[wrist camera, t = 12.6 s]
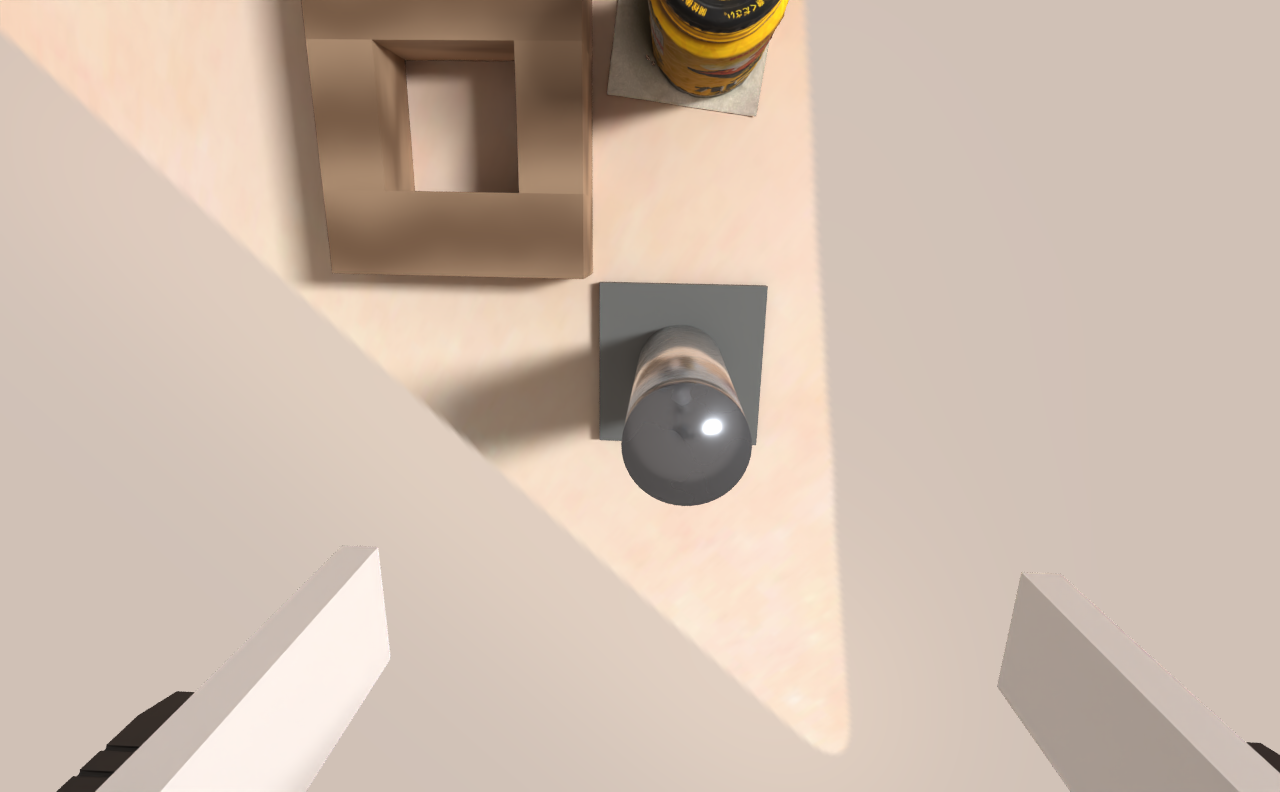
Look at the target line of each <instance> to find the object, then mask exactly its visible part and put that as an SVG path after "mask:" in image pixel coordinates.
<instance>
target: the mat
mask: <svg viewBox="0 0 1280 792" xmlns="http://www.w3.org/2000/svg"><path fill="white" fill-rule="evenodd" d="M767 288H768V286H763V285H719V284H676V283H632V282H600V440H615V441H622V435H623V430H624V425H625V421H626V416H627V411H628V407H629V402H630V397H631V393H632V388H633V383H634V379H635V374H636V369H637V365H638V360H639V356H640V353H641V350H642V348H643V346H644V344H645V343H646V341H647V340H648V339H649V338H650V337H651V336H652V335H653V334H655V333H656V332H658V331H659V330H661V329H663V328H665V327H669V326H673V325H688V326H693V327H695V328H698V329H700V330H702V331H703V332H705V333H706V334H708V335H709V336H710V337H711V338H712V339H713V341H714V342H715V343H716V345H717V347H718V349H719V351H720V353H721V356H722V358H723V361H724V364H725V366H726V369H727V371H728V374H729V376H730V379H731V382H732V384H733V387H734V389H735V392H736V395H737V397H738V400H739V402H740V405H741V407H742V410H743V413H744V415H745V418H746V420H747V423H748V426H749V429H750V433H751V440H752V445H756V438H757V425H758V411H759V397H760V384H761V370H762V356H763V343H764V329H765V316H766V302H767Z"/></svg>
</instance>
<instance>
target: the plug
mask: <svg viewBox="0 0 1280 792" xmlns="http://www.w3.org/2000/svg"><path fill="white" fill-rule="evenodd" d="M621 445H622V455H623V460H624V463H625V466H626V468H627V470H628V472H629V474H630V476H631V477H632V479H633V480H634V482H635V483H636V484H637V485H638V486H639V487H640V488H641V489H642V490H643V491H645V492H646V493H647V494H649V495H650V496H652V497H654V498H656V499H658V500H660V501H662V502H665V503H669V504H673V505H681V506H693V505H700V504H704V503H708V502H710V501H713V500H715V499H717V498H719V497H721V496H723V495H724V494H726V493H727V492H728V491H730V490H731V489H732V488H733V487H734V486H735V485H736V484H737V483H738V481H739V480H740V479H741V477H742V476H743V474H744V472H745V471H746V468H747V466H748V464H749V460H750V457H751V450H752V440H751V433H750V429H749V426H748V423H747V420H746V418H745V415H744V413H743V410H742V407H741V405H740V402H739V400H738V397H737V395H736V392H735V389H734V387H733V384H732V382H731V379H730V376H729V374H728V371H727V369H726V366H725V364H724V361H723V358H722V356H721V353H720V351H719V349H718V347H717V345H716V343H715V342H714V341H713V339H712V338H711V337H710V336H709V335H708V334H706V333H705V332H703V331H702V330H700V329H698V328H695V327H693V326H688V325H673V326H669V327H665V328H663V329H661V330H659V331H658V332H656V333H655V334H653V335H652V336H651V337H650V338H649V339H648V340H647V341H646V343H645V344H644V346H643V348H642V350H641V353H640V356H639V360H638V365H637V369H636V374H635V379H634V383H633V388H632V393H631V397H630V402H629V407H628V411H627V416H626V421H625V425H624V430H623V435H622V444H621Z"/></svg>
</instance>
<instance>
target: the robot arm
mask: <svg viewBox="0 0 1280 792" xmlns="http://www.w3.org/2000/svg"><path fill="white" fill-rule="evenodd" d="M390 658H391V657H390V648H389V639H388V630H387V621H386V613H385V604H384V595H383V586H382V578H381V568H380V560H379V551H378V547H367V546H341V547H340V548H339V549H338V550H337V551H336V552H335V553H334V554H333V555H332V556H331V557H330V558H329V559H328V560H327V561H326V562H325V563H324V564H323V565H322V566H321V567H320V568H319V569H318V570H317V571H316V572H315V573H314V574H313V575H312V576H311V577H310V578H309V579H308V580H307V581H306V582H305V583H304V584H303V585H302V586H301V587H300V588H299V589H298V590H297V591H296V592H295V593H294V594H293V595H292V596H291V597H290V598H289V599H288V600H287V601H286V602H285V603H284V604H283V605H282V606H281V607H280V608H279V609H278V610H277V611H276V612H275V613H274V614H273V615H272V616H271V617H270V618H269V619H268V620H267V621H266V622H265V623H264V624H263V625H262V626H261V627H260V628H259V629H258V630H257V631H256V632H255V633H254V634H253V635H252V636H251V637H250V638H249V639H248V640H247V641H246V642H245V643H244V644H243V645H242V646H241V647H240V648H239V649H238V650H237V651H236V652H235V653H234V654H233V655H232V656H231V657H230V658H229V659H228V660H227V661H226V662H225V663H224V664H223V665H222V666H221V667H220V668H219V669H218V670H217V671H216V672H215V673H214V674H213V675H212V676H211V677H210V678H209V679H208V680H207V681H206V682H205V683H204V684H203V685H202V686H201V687H200V688H199V689H198V690H197V691H196V692H179V691H178V692H175V693H174V694H172V695H170V696H169V697H167V698H166V699H164V700H162V701H161V702H159V703H157V704H156V705H154V706H153V707H151V708H150V709H148V710H146V711H145V712H143V713H141V714H140V715H138V716H137V717H136V718H135V719H134V720H133V721H132V722H131V723H130V724H128V725H127V726H126V727H125V728H124V729H123V730H122V731H121V732H120V733H119V734H118V735H117V736H116V737H115V738H113V739H112V740H111V741H110V742H109V743H108V744H107V747H106V749H105V750H104V751H100V752H98V753H97V754H96V755H95V756H94V757H93V758H92V759H91V760H90V761H89V762H88V763H87V764H86V765H85V766H84V767H82V769H80V773H79V775H78V776H76V777H75V776H73V777H72V778H71V779H70V780H68V782H66V783H65V784H64V785H63V786H62V787H61V788H60V789H59V790H58V791H57V792H306V790H307V789H308V787H309V786H310V784H311V783H312V781H313V780H314V778H315V776H316V775H317V773H318V772H319V770H320V769H321V767H322V765H323V764H324V762H325V761H326V759H327V758H328V756H329V754H330V753H331V751H332V750H333V748H334V746H335V745H336V743H337V742H338V740H339V739H340V737H341V735H342V734H343V732H344V731H345V729H346V728H347V726H348V725H349V723H350V721H351V720H352V718H353V717H354V715H355V714H356V712H357V710H358V709H359V707H360V706H361V704H362V702H363V701H364V699H365V698H366V696H367V695H368V693H369V691H370V690H371V688H372V686H373V685H374V684H375V682H376V681H377V679H378V677H379V676H380V674H381V673H382V671H383V669H384V668H385V666H386V665H387V663H388V661H389V660H390ZM997 687H998V688H999V690H1000V691H1001V693H1002V694H1003V696H1004V697H1005V699H1006V700H1007V701H1008V703H1009V704H1010V706H1011V707H1012V709H1013V710H1014V711H1015V713H1016V714H1017V716H1018V717H1019V719H1020V720H1021V721H1022V723H1023V724H1024V726H1025V727H1026V729H1027V730H1028V731H1029V733H1030V734H1031V736H1032V737H1033V739H1034V740H1035V741H1036V743H1037V744H1038V746H1039V747H1040V749H1041V750H1042V751H1043V753H1044V754H1045V756H1046V757H1047V759H1048V760H1049V761H1050V763H1051V764H1052V766H1053V767H1054V769H1055V770H1056V772H1057V773H1058V774H1059V776H1060V777H1061V779H1062V780H1063V782H1064V783H1065V784H1066V786H1067V787H1068V789H1069V790H1070V792H1280V755H1278V754H1277V753H1276V752H1274V751H1272V750H1271V749H1269V748H1267V747H1266V746H1264V745H1263V744H1261V743H1250V742H1245V741H1244V740H1243V739H1242V738H1241V737H1240V736H1238V735H1237V734H1236V733H1235V732H1234V731H1233V730H1232V729H1231V728H1230V727H1228V726H1227V725H1226V724H1225V723H1224V722H1223V721H1222V720H1221V719H1220V718H1219V717H1217V716H1216V715H1215V714H1214V713H1213V712H1212V711H1211V710H1210V709H1209V708H1207V706H1205V705H1204V704H1203V703H1202V702H1201V701H1200V700H1199V699H1198V698H1197V697H1196V696H1194V695H1193V694H1192V693H1191V692H1190V691H1189V690H1188V689H1187V688H1186V687H1185V686H1184V685H1182V684H1181V683H1180V682H1179V681H1178V680H1177V679H1176V678H1175V677H1174V676H1172V675H1171V674H1170V673H1169V672H1168V671H1167V670H1166V669H1165V668H1164V667H1163V666H1162V665H1160V664H1159V663H1158V662H1157V661H1156V660H1155V659H1154V658H1153V657H1152V656H1151V655H1149V654H1148V653H1147V652H1146V651H1145V650H1144V649H1143V648H1142V647H1141V646H1140V645H1138V644H1137V643H1136V642H1135V641H1134V640H1133V639H1132V638H1131V637H1130V636H1128V635H1127V634H1126V633H1125V632H1124V631H1123V630H1122V629H1121V628H1120V627H1119V626H1118V625H1116V624H1115V623H1114V622H1113V621H1112V620H1111V619H1110V618H1109V617H1108V616H1106V615H1105V614H1104V613H1103V612H1102V611H1101V610H1100V609H1099V608H1098V607H1097V606H1096V605H1094V604H1093V603H1092V602H1091V601H1090V600H1089V599H1088V598H1087V597H1086V596H1085V595H1083V594H1082V593H1081V592H1080V591H1079V590H1078V589H1077V588H1076V587H1075V586H1073V585H1072V584H1071V583H1070V582H1069V581H1068V580H1067V579H1066V578H1065V577H1064V576H1063V575H1061V574H1052V573H1028V572H1021V577H1020V581H1019V586H1018V591H1017V595H1016V600H1015V605H1014V609H1013V614H1012V619H1011V624H1010V629H1009V633H1008V638H1007V642H1006V648H1005V652H1004V656H1003V661H1002V666H1001V671H1000V675H999V680H998V685H997Z"/></svg>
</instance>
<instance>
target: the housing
mask: <svg viewBox="0 0 1280 792" xmlns="http://www.w3.org/2000/svg"><path fill="white" fill-rule="evenodd" d="M301 4H302V13H303V22H304V30H305V39H306V48H307V56H308V65H309V74H310V83H311V91H312V100H313V109H314V117H315V126H316V135H317V144H318V152H319V161H320V170H321V178H322V187H323V196H324V205H325V213H326V222H327V231H328V239H329V248H330V257H331V266H332V273H343V274H387V275H431V276H475V277H519V278H563V279H584V278H586V277H588V276H589V275H591V274H592V273H593V235H592V0H301ZM405 60H478V61H515V86H516V117H517V147H518V177H519V193H489V192H430V191H415V186H414V173H413V160H412V147H411V134H410V121H409V108H408V95H407V82H406V69H405Z"/></svg>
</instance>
